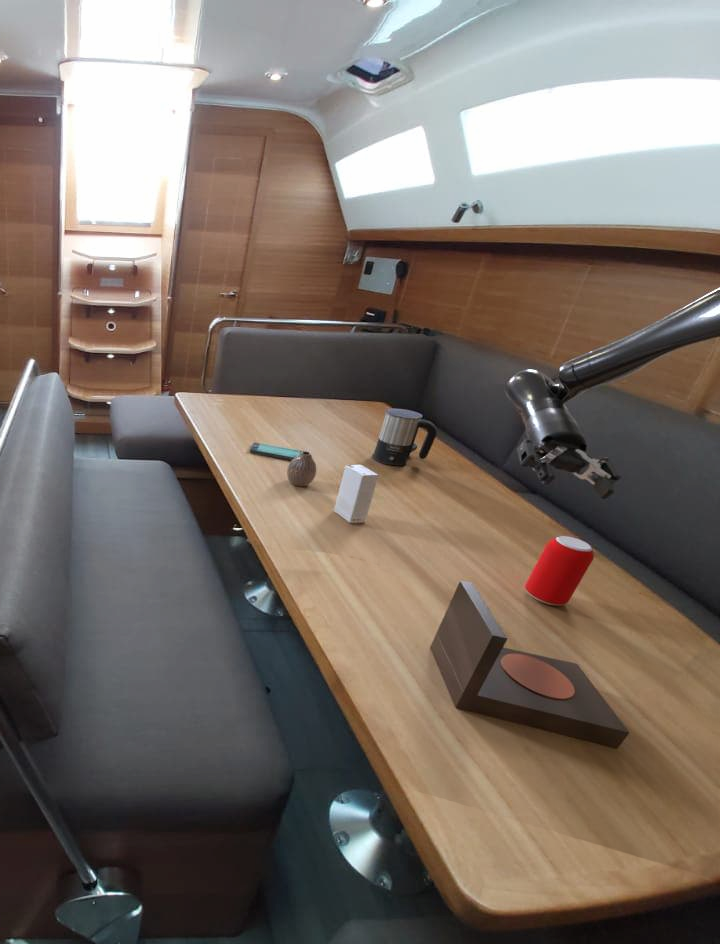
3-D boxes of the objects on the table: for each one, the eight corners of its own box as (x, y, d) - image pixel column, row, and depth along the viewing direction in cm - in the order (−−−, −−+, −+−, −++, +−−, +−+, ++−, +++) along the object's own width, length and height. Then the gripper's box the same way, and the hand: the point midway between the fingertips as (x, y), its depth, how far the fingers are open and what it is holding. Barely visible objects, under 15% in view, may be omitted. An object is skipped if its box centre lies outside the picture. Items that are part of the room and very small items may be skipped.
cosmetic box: (365, 522, 114) (381, 475, 109) (348, 524, 113) (363, 476, 108) (348, 509, 119) (362, 463, 114) (331, 510, 118) (345, 464, 113)
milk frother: (377, 464, 145) (392, 416, 139) (359, 445, 160) (373, 400, 153) (429, 469, 143) (448, 420, 137) (407, 449, 157) (423, 404, 151)
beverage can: (571, 602, 90) (604, 546, 85) (557, 613, 87) (590, 556, 82) (531, 583, 95) (559, 530, 89) (516, 593, 92) (544, 538, 87)
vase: (285, 486, 130) (292, 455, 126) (284, 476, 136) (291, 446, 132) (313, 491, 128) (322, 459, 124) (311, 480, 134) (319, 450, 130)
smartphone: (253, 441, 156) (304, 450, 150) (253, 445, 156) (304, 454, 150) (249, 449, 150) (303, 459, 144) (249, 453, 150) (302, 462, 144)
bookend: (567, 678, 74) (611, 609, 68) (617, 748, 63) (674, 674, 58) (429, 647, 78) (459, 580, 73) (455, 707, 68) (492, 635, 62)
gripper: (524, 410, 97) (545, 460, 86) (611, 429, 93) (644, 484, 82) (500, 440, 102) (517, 491, 91) (582, 459, 98) (609, 515, 88)
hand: (577, 488), depth 87 cm, fingers open, 8 cm apart
